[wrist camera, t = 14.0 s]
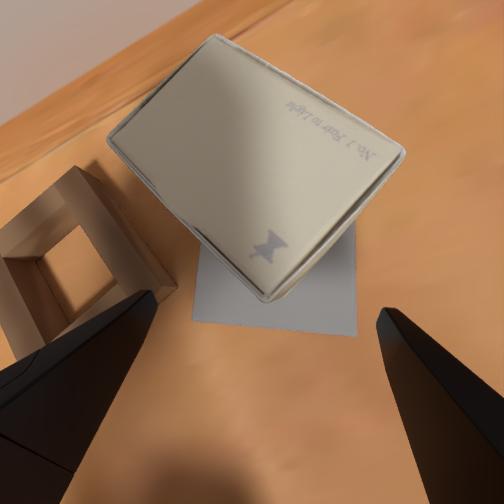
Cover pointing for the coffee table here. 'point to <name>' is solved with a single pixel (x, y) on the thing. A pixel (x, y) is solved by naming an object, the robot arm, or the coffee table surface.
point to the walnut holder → (47, 236)
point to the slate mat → (293, 304)
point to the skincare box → (254, 163)
